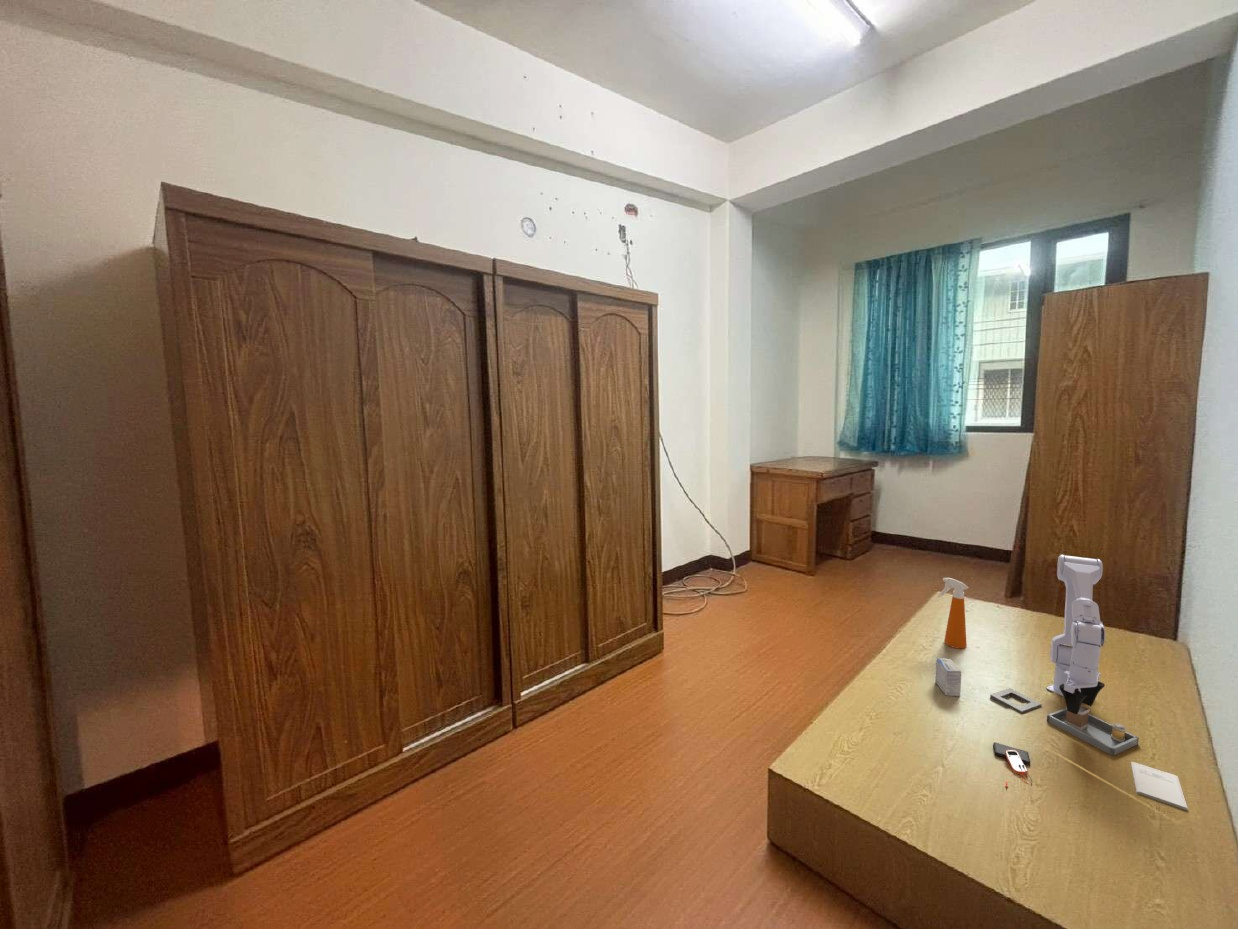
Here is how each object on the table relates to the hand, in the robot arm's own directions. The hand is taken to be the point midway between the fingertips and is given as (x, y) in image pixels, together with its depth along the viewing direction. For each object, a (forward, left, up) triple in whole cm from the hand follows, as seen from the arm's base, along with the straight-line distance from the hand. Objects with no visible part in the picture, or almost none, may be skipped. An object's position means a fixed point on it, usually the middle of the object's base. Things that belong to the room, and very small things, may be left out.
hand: (1079, 708), depth 142 cm
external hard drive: (+8, +20, -7) cm, 23 cm away
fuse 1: (0, 0, -5) cm, 5 cm away
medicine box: (+16, -27, -6) cm, 32 cm away
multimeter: (+33, +6, -7) cm, 34 cm away
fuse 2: (-3, +8, -5) cm, 10 cm away
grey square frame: (+4, -14, -6) cm, 16 cm away
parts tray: (0, +3, -6) cm, 7 cm away
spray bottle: (-12, -47, -6) cm, 49 cm away
